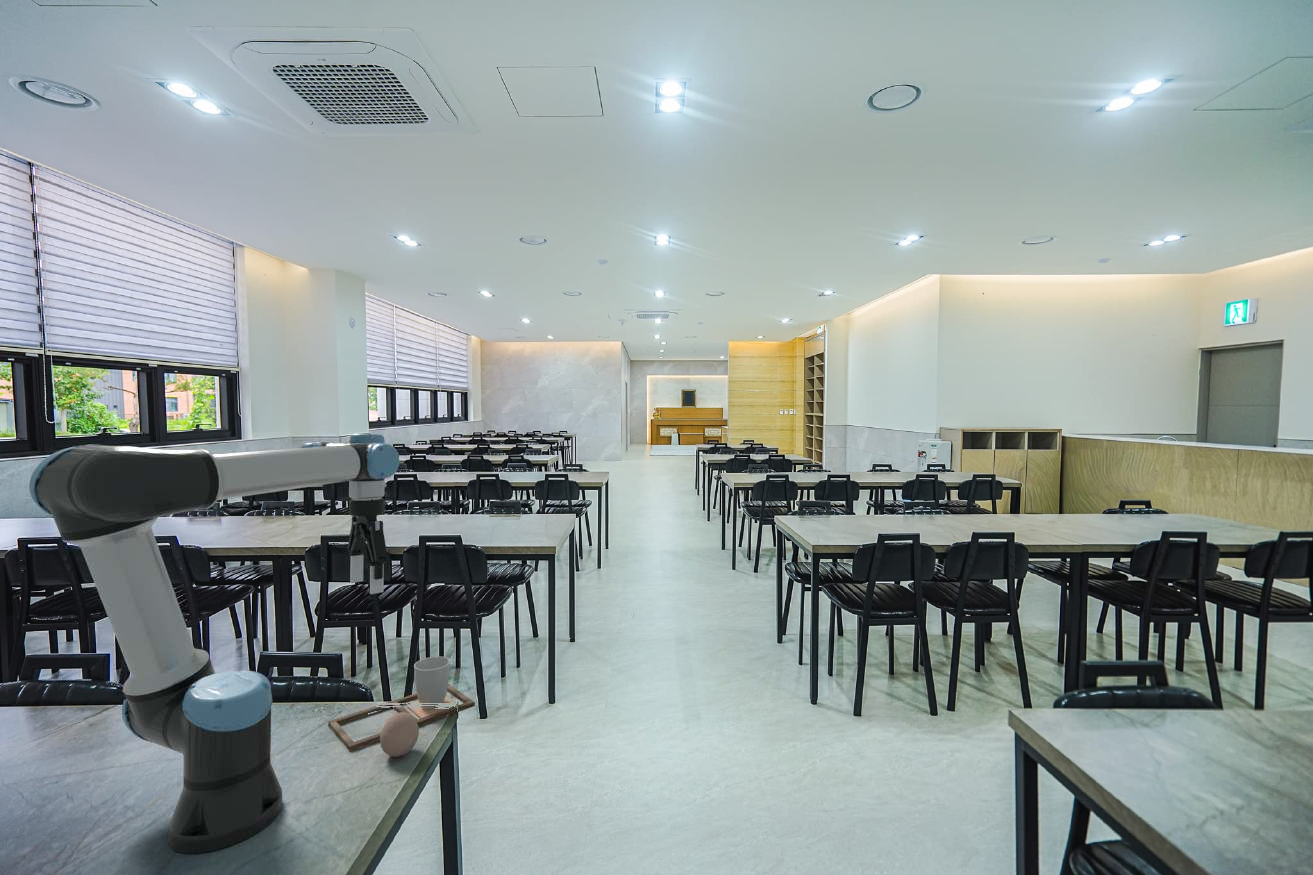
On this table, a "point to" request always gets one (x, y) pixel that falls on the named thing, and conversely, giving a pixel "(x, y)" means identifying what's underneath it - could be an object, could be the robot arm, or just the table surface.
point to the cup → (432, 680)
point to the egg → (399, 735)
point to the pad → (423, 712)
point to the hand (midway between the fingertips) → (366, 587)
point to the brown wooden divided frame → (369, 740)
